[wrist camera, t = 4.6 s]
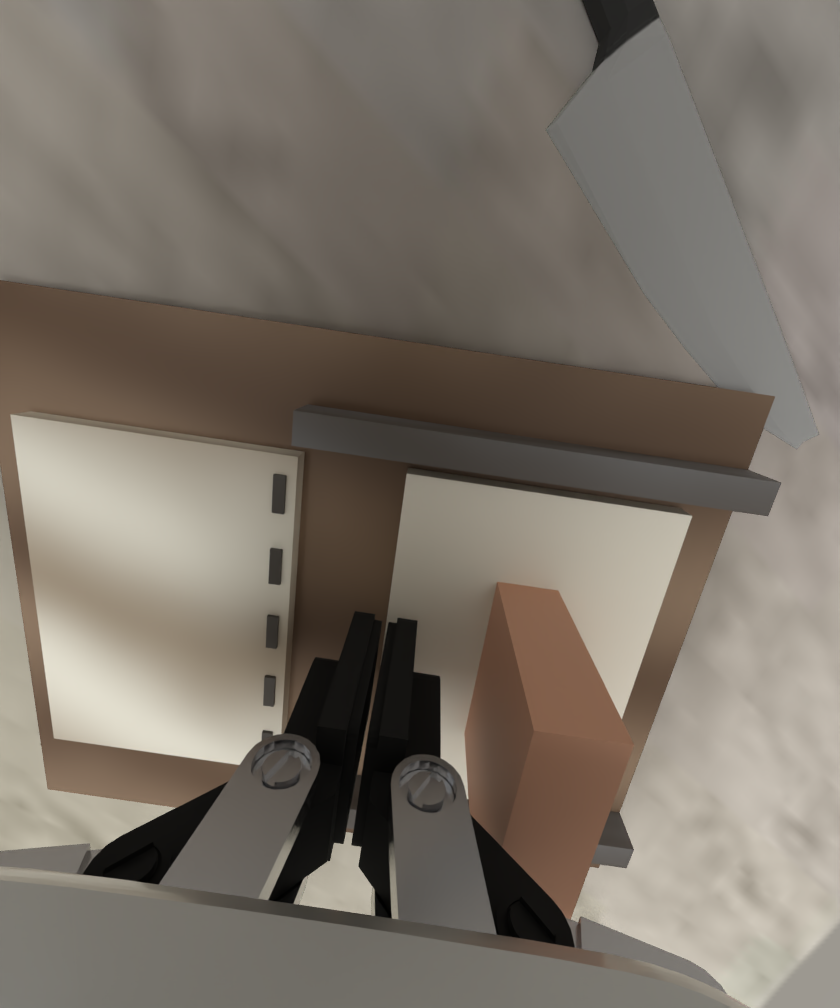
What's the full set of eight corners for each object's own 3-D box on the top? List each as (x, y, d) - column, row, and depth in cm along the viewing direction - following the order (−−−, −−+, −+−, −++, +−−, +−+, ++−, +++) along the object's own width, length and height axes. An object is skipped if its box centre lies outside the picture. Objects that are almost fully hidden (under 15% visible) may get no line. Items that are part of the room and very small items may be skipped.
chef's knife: (727, 547, 14) (837, 498, 13) (748, 565, 13) (869, 513, 12) (352, -217, 9) (487, -372, 8) (337, -288, 8) (489, -472, 7)
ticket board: (2, 280, 12) (-82, 267, 10) (753, 393, 12) (813, 401, 10) (65, 769, 17) (17, 822, 15) (591, 844, 17) (610, 907, 15)
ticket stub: (408, 467, 12) (382, 563, 7) (680, 507, 12) (872, 634, 7) (367, 768, 15) (326, 996, 10) (582, 799, 15) (659, 1043, 10)
